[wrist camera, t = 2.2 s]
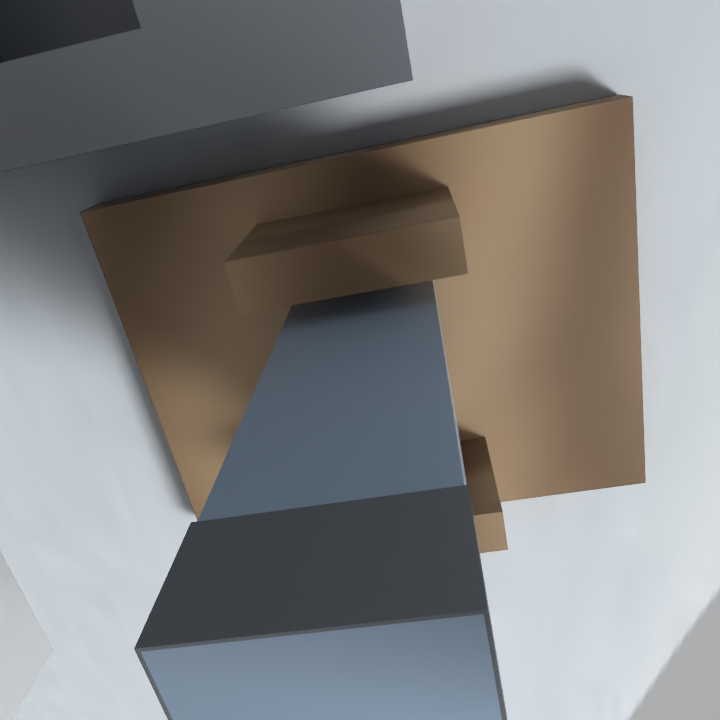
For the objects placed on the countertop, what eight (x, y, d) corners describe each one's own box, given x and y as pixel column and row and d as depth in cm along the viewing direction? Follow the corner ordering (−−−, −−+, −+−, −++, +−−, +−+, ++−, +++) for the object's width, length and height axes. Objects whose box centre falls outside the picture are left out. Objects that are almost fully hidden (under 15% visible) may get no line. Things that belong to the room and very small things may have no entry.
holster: (619, 94, 16) (694, 106, 12) (634, 463, 20) (693, 564, 16) (96, 204, 18) (7, 247, 14) (213, 521, 22) (171, 624, 18)
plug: (431, 258, 17) (487, 609, 6) (458, 424, 19) (538, 909, 8) (298, 283, 18) (134, 648, 7) (339, 442, 20) (264, 922, 9)
